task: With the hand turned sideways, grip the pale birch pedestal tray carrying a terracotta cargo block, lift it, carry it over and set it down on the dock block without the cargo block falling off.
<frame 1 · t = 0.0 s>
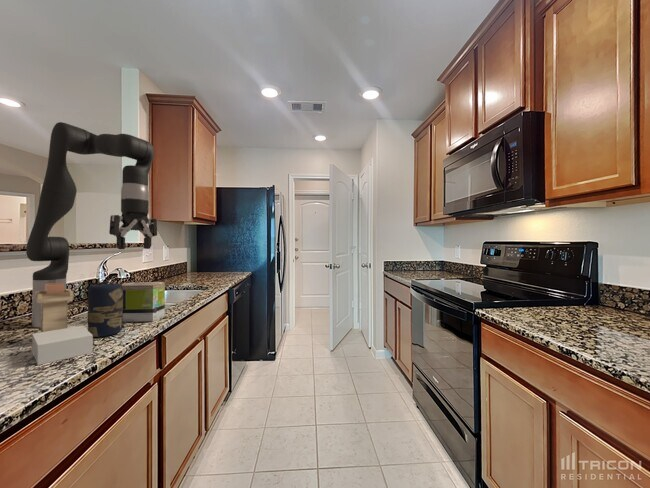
hand: (134, 249, 93), 29 cm above the counter, tool pointing down, fingers open, 8 cm apart
dock: (62, 352, 81), on the counter
cargo block: (54, 296, 91), point 14 cm above the counter, touching pedestal tray
pedestal tray: (53, 340, 91), on the counter, touching cargo block
tea box: (140, 319, 117), on the counter
canister: (105, 334, 97), on the counter
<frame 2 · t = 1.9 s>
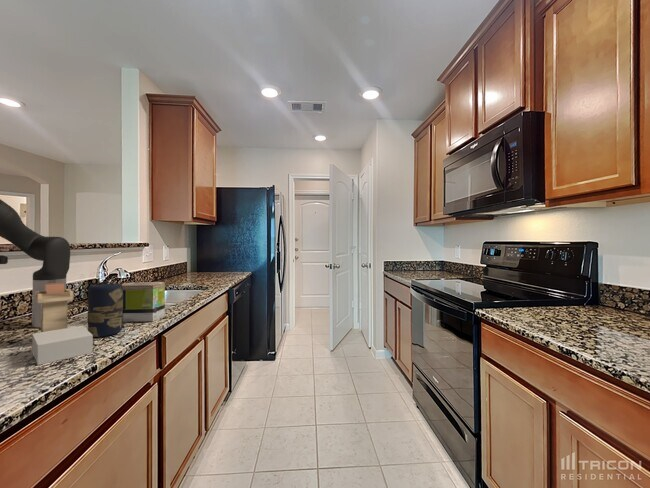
hand: (6, 259, 83), 26 cm above the counter, tool horizontal, fingers open, 8 cm apart
nothing on the counter moved.
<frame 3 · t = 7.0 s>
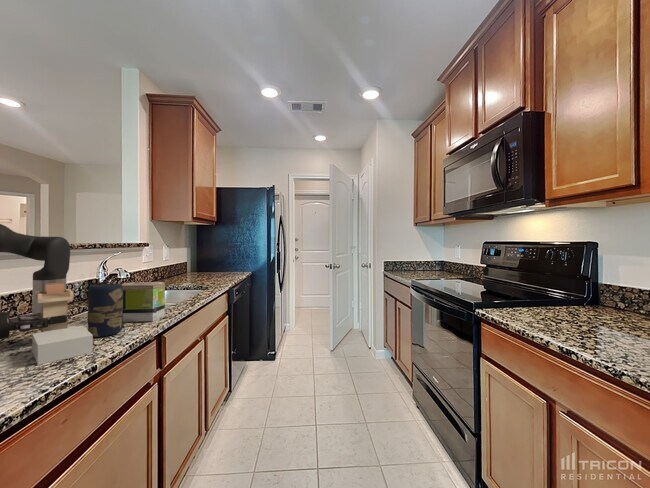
hand: (64, 316, 93), 7 cm above the counter, tool horizontal, fingers closed on pedestal tray, 5 cm apart
pedestal tray: (53, 340, 91), on the counter, touching cargo block, gripper
everything else where it was.
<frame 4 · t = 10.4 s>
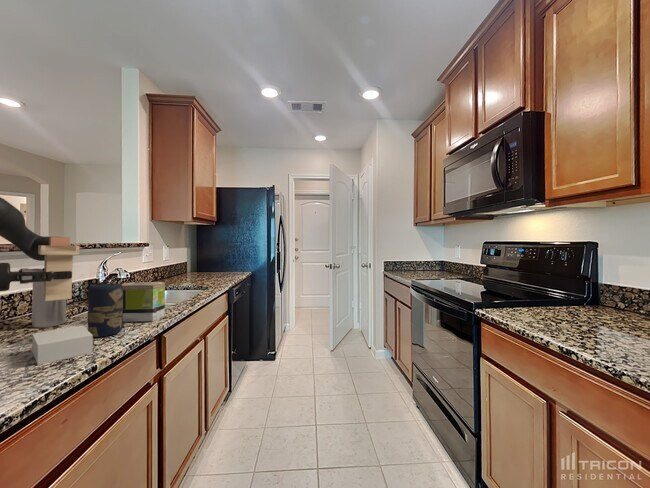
hand: (69, 274, 86), 22 cm above the counter, tool horizontal, fingers closed on pedestal tray, 5 cm apart
cargo block: (58, 250, 84), point 29 cm above the counter, touching pedestal tray
pedestal tray: (57, 298, 84), point 15 cm above the counter, touching cargo block, gripper
everything else where it was.
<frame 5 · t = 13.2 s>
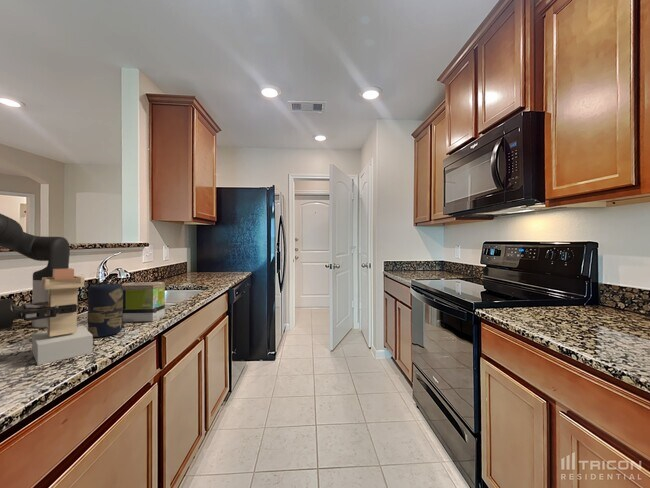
hand: (74, 306, 83), 13 cm above the counter, tool horizontal, fingers closed on pedestal tray, 5 cm apart
cargo block: (63, 283, 81), point 20 cm above the counter, touching pedestal tray
pedestal tray: (61, 332, 81), point 6 cm above the counter, touching cargo block, gripper
everything else where it was.
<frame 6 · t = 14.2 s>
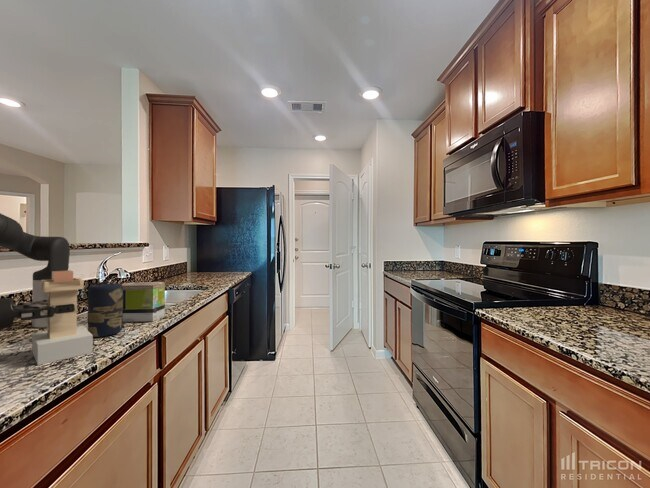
hand: (71, 305, 83), 13 cm above the counter, tool horizontal, fingers open, 8 cm apart
pedestal tray: (62, 334, 81), point 5 cm above the counter, touching cargo block, dock
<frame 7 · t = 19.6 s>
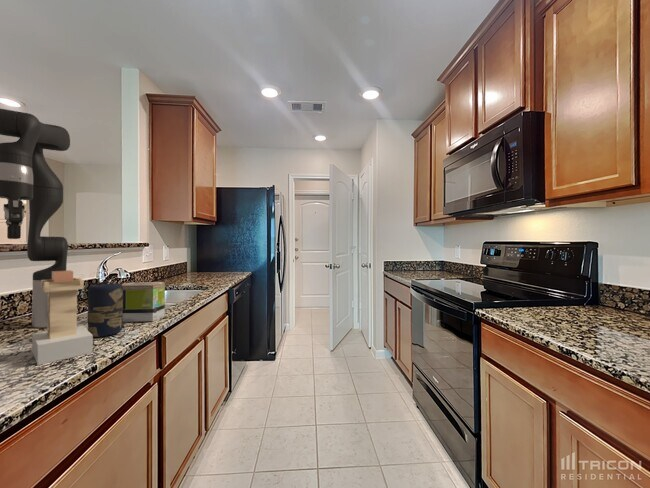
hand: (13, 238, 81), 32 cm above the counter, tool pointing down, fingers open, 8 cm apart
nothing on the counter moved.
at the end: pedestal tray inside the target area on the dock (0.1 cm from its centre), point 5.0 cm above the dock's base; cargo block 0.0 cm off-centre on the pedestal tray, point 14.0 cm above the pedestal tray's base; pedestal tray tilted 0° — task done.
